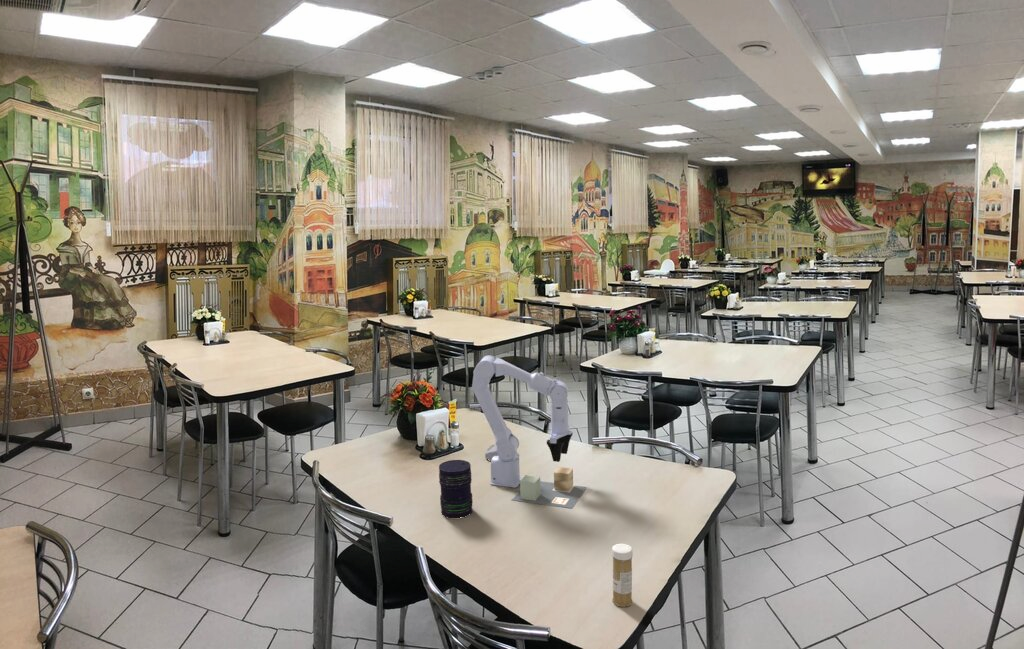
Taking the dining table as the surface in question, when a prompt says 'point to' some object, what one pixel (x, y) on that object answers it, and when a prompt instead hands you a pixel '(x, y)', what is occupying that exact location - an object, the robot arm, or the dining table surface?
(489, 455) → the stone block
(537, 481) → the sage block
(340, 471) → the dining table surface
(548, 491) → the slate mat
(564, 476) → the maple block
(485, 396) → the robot arm
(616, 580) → the sprinkles bottle
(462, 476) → the storage jar
